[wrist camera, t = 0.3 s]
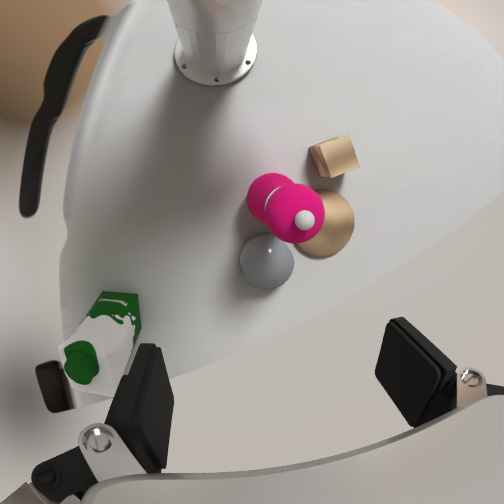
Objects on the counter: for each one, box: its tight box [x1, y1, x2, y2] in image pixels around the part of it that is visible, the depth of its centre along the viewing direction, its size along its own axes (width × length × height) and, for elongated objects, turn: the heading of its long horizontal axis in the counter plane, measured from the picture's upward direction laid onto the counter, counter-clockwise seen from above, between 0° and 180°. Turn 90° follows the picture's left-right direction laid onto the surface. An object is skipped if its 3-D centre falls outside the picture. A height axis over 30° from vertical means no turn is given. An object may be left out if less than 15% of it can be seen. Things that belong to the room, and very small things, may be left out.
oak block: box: [309, 135, 360, 178], centre depth 39 cm, size 5×5×5 cm
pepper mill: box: [247, 173, 325, 244], centre depth 33 cm, size 7×7×20 cm
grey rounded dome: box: [239, 233, 294, 290], centre depth 44 cm, size 8×8×4 cm
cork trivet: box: [297, 190, 354, 257], centre depth 44 cm, size 11×11×1 cm
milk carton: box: [57, 291, 141, 398], centre depth 36 cm, size 9×9×20 cm
